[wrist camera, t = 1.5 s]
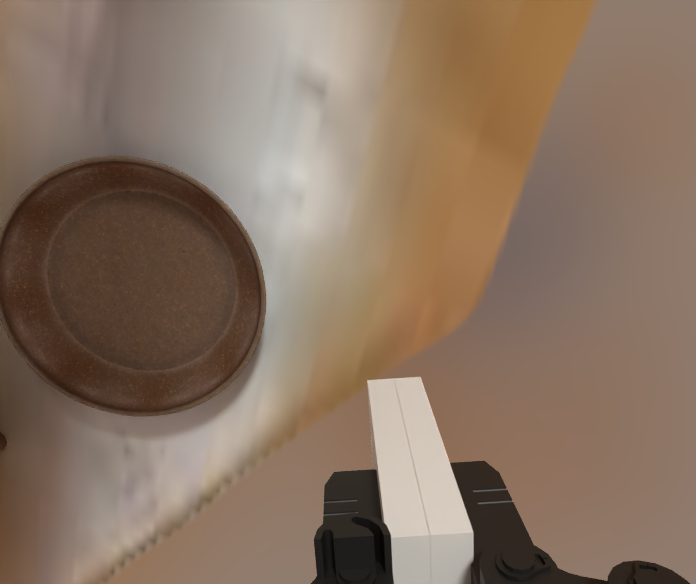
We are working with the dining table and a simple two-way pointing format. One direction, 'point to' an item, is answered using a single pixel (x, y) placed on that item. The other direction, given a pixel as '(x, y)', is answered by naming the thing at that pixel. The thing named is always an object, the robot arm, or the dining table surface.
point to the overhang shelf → (2, 442)
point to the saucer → (130, 286)
